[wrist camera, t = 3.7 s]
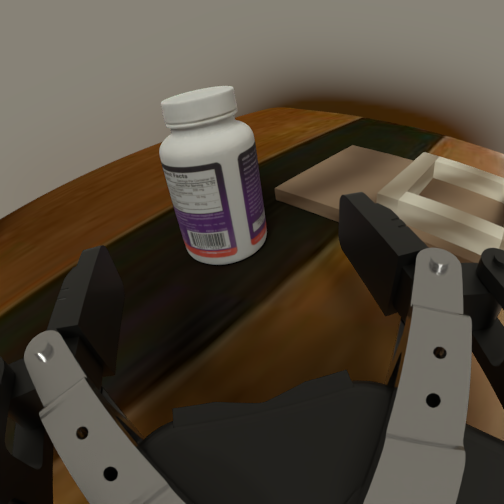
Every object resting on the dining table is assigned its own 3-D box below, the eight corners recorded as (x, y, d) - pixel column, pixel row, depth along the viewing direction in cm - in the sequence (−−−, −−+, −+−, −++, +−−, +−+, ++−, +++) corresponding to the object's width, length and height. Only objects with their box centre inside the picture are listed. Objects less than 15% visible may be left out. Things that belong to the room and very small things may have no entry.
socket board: (275, 199, 25) (272, 170, 23) (352, 154, 31) (352, 131, 30) (507, 293, 14) (522, 259, 12) (520, 209, 20) (527, 183, 18)
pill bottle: (239, 211, 24) (217, 82, 18) (284, 241, 20) (268, 84, 15) (174, 241, 22) (136, 104, 16) (209, 280, 18) (166, 109, 13)
